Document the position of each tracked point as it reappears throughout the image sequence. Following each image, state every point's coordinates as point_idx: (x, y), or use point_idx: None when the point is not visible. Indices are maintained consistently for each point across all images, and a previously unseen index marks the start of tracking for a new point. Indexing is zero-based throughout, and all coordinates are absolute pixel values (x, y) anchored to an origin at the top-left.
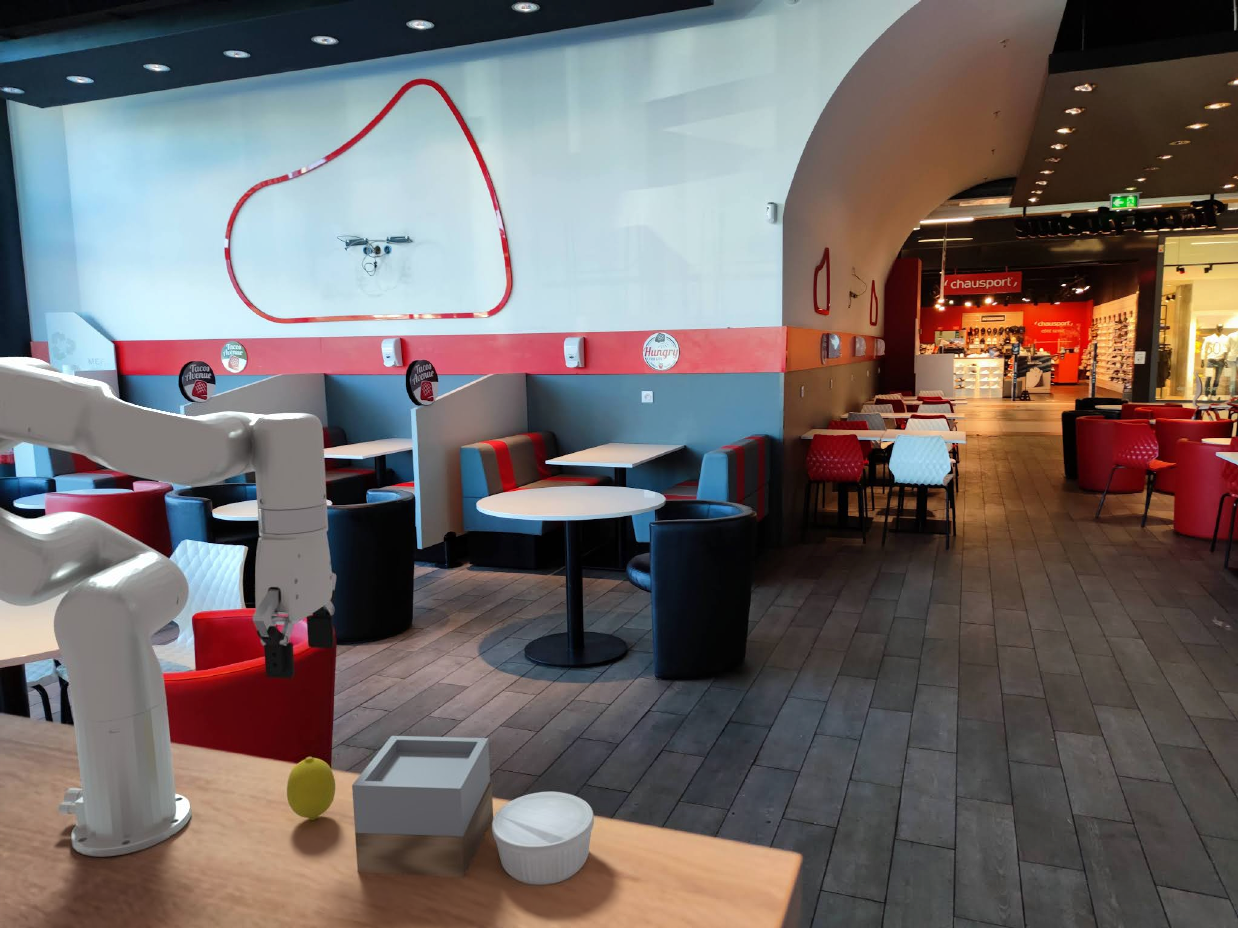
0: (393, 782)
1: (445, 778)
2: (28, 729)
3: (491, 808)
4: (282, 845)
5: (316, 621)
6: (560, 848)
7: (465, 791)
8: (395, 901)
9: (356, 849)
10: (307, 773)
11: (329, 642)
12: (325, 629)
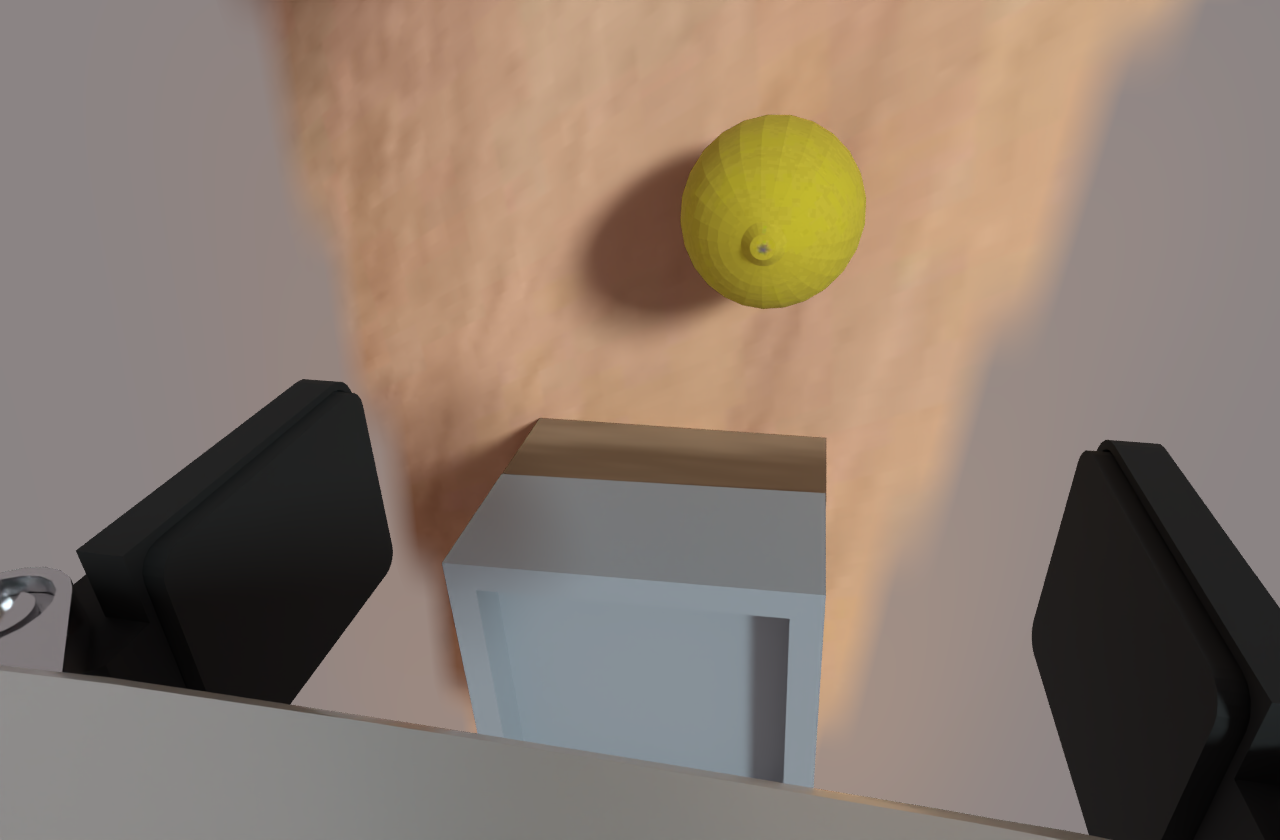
0: (486, 665)
1: (618, 737)
2: None
3: None
4: (619, 155)
5: (1158, 763)
6: None
7: None
8: (458, 525)
9: (519, 448)
10: (703, 255)
11: (1041, 669)
12: (1093, 755)
